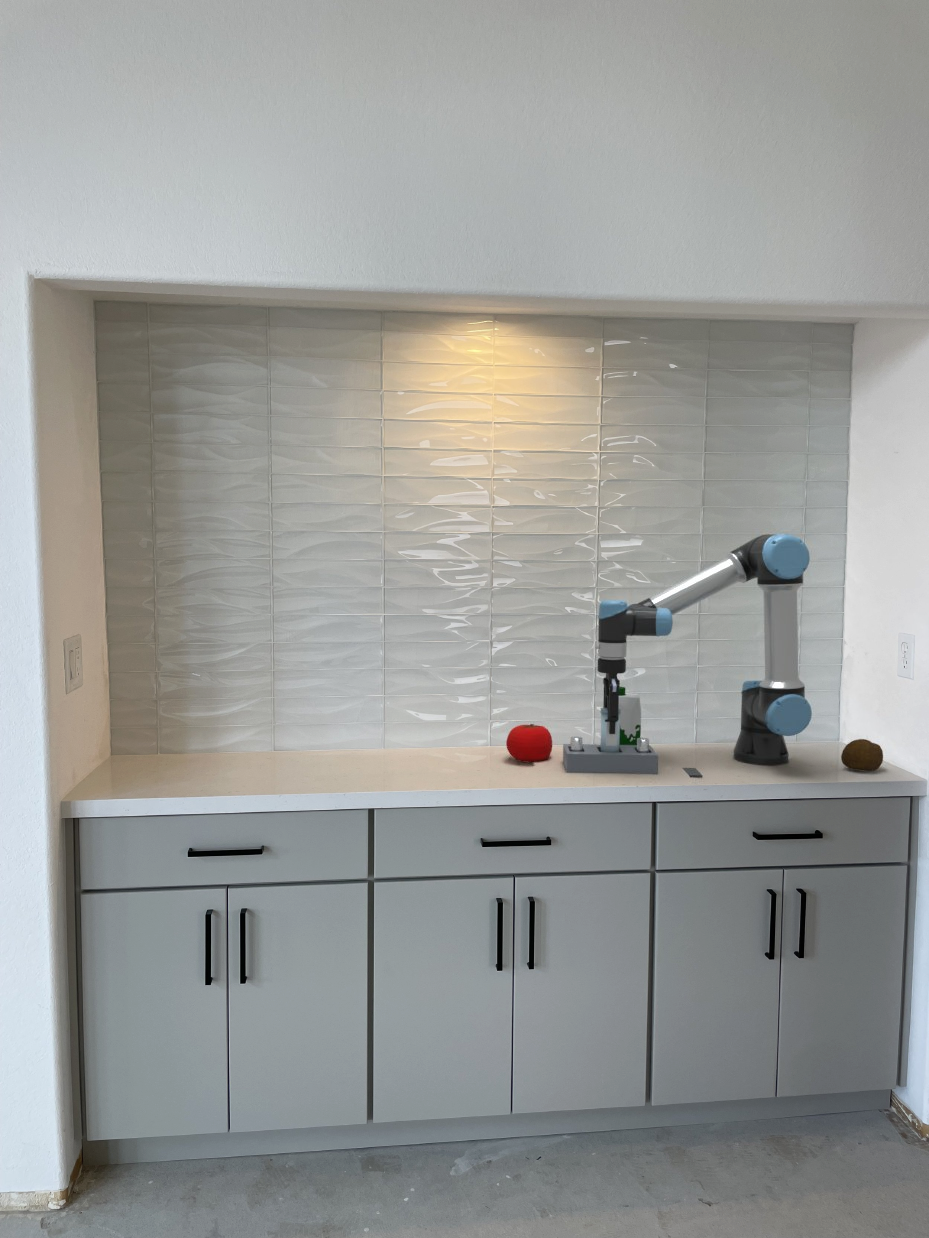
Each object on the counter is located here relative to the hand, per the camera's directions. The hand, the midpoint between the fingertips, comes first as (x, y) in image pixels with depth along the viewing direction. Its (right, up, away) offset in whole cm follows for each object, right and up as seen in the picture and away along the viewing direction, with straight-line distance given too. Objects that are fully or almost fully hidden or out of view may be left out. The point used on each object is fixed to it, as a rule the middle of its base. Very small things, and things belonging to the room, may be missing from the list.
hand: (609, 742), depth 244 cm
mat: (+20, -8, -1) cm, 21 cm away
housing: (0, -8, +1) cm, 8 cm away
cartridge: (0, -7, +1) cm, 7 cm away
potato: (+71, -9, +5) cm, 72 cm away
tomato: (-21, -7, +12) cm, 25 cm away
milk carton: (+7, -7, +19) cm, 22 cm away
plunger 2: (+9, -6, 0) cm, 10 cm away
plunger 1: (-9, -5, +1) cm, 11 cm away
